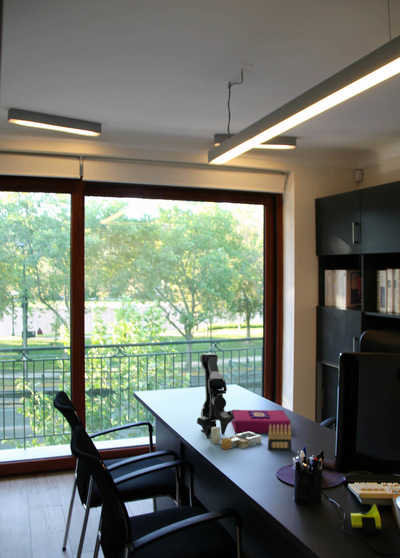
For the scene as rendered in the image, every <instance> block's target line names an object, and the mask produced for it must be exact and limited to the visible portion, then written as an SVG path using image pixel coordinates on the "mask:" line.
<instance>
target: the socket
mask: <svg viewBox="0 0 400 558" xmlns="http://www.w3.org/2000/svg"><path fill="white" fill-rule="evenodd" d="M235 436H236V437H238V438H239V439H241V440H242V439H244V440H247V447H248V446H249V447H252V446H255V445H254V444H256V445H259V444H258V443H260V444H262V435H261V434H255V433H253V432H250V431H248V432H244V433H235ZM251 445H252V446H251Z"/></svg>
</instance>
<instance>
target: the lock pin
mask: <svg viewBox="0 0 400 558" xmlns="http://www.w3.org/2000/svg"><path fill="white" fill-rule="evenodd" d="M220 439H221V440H220V444H221V445H220V447H221V449H223V450H229V449H232V448H237V447H239V440H241V439H239V438H237V437H236V438H232V439H230V437H224V438H220Z"/></svg>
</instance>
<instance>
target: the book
mask: <svg viewBox="0 0 400 558" xmlns="http://www.w3.org/2000/svg"><path fill="white" fill-rule="evenodd" d="M231 411H232V412H233V415H234V420H232V422H230V423H231V425H232V428H233V431H234V434H240V433H244V432H248V431H250V432H253V433H269V426H270V424H271V427H272V432H273V425H274V424H275V432H276V430H277V424H279V433H280V428H281V424H282V425H283V435H284V427H285V424H286V426H287V435H288V426H289V424H290V426H291V427H292V425H291V420H290V419H289V417H288V416H287V414H286V413H285V411H284V409H283V410H282V409H281V410H280V409H277V410H272V409H271V410H269V409H268V410H267V409H265V410H264V409H261V410H258V409H231Z"/></svg>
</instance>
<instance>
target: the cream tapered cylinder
mask: <svg viewBox="0 0 400 558" xmlns="http://www.w3.org/2000/svg"><path fill="white" fill-rule="evenodd" d="M220 435H221V427H219V426H216V427H212V428H211V433H210V436H211V437H210V438H211V439H210V441H211V442H210V443H211V444H212V445H218V444H221V440H220V439H221V436H220Z"/></svg>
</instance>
